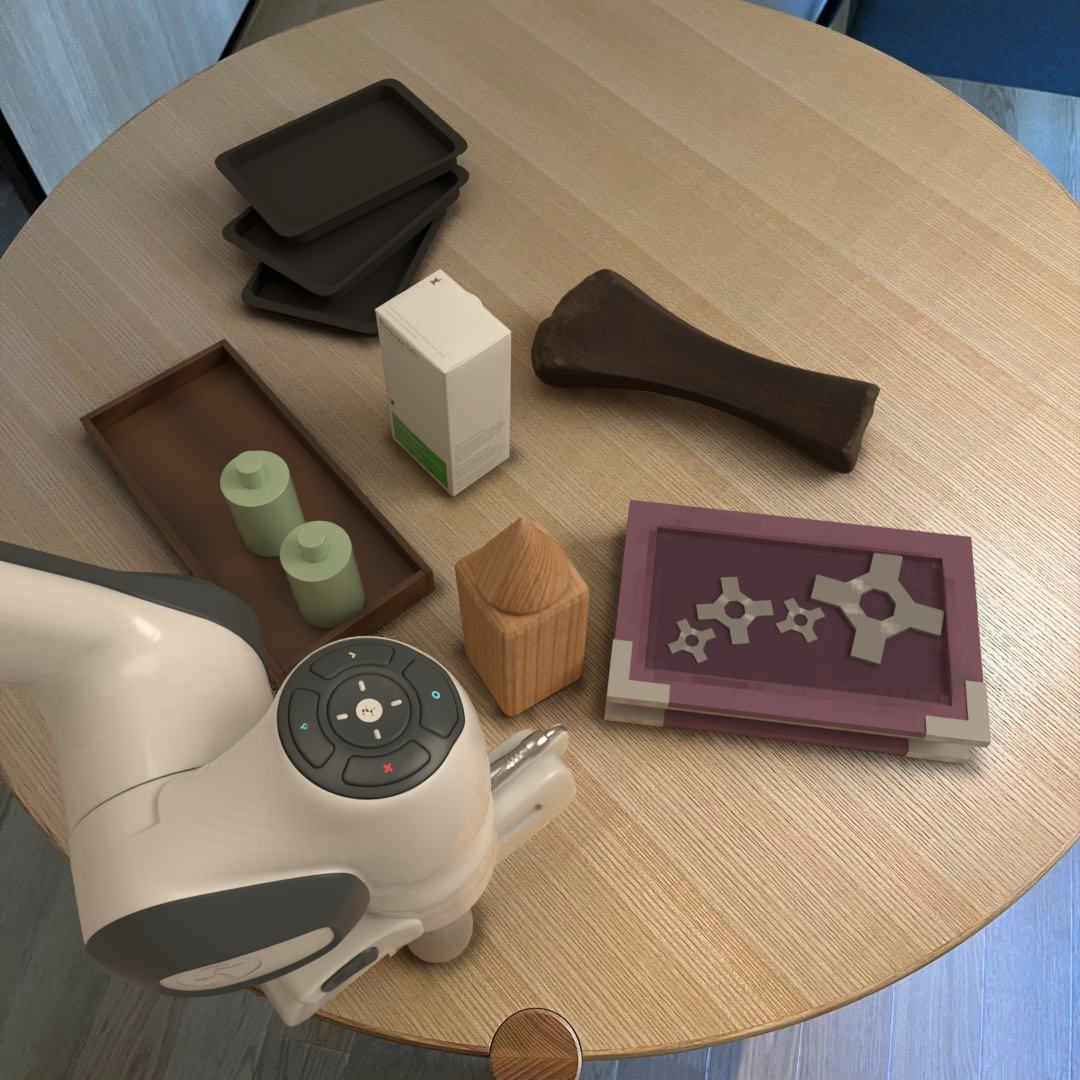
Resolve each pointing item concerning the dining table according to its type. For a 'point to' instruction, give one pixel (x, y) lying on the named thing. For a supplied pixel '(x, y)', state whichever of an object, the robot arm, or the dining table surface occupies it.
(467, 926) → the planter
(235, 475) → the bottles
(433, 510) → the dining table surface
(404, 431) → the cosmetic box
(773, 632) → the book
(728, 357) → the dark brown bone
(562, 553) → the decorative item
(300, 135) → the tray
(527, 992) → the dining table surface
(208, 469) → the walnut tray
